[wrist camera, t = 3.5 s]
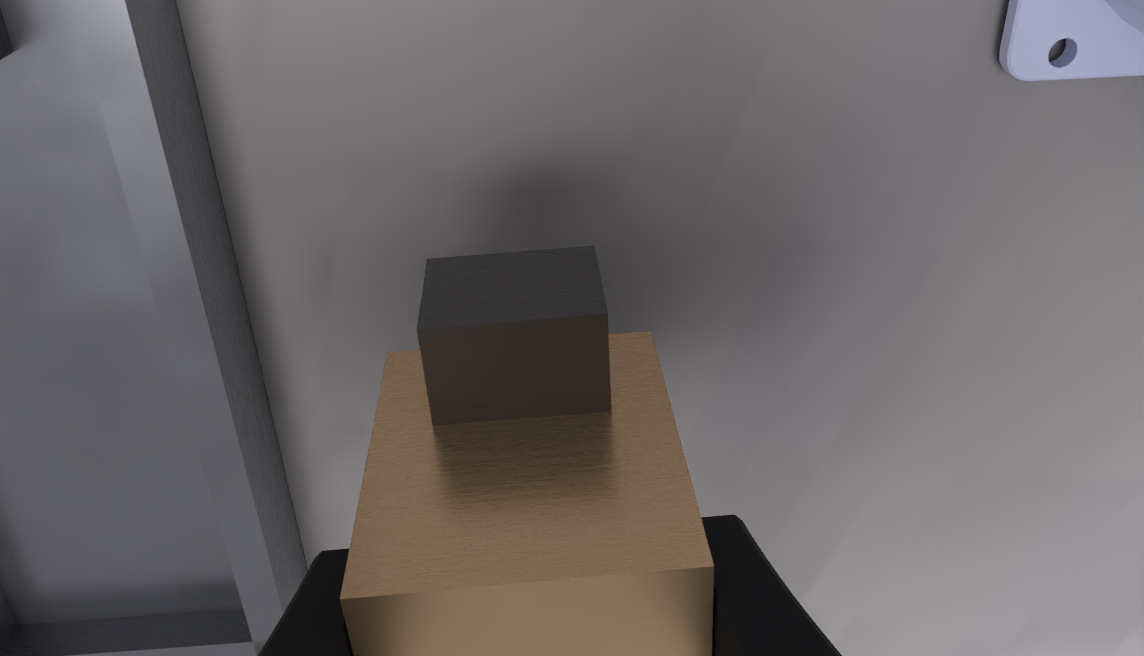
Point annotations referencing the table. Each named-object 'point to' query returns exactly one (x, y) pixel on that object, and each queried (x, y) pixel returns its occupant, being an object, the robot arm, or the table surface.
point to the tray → (126, 357)
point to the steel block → (4, 39)
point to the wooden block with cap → (526, 479)
